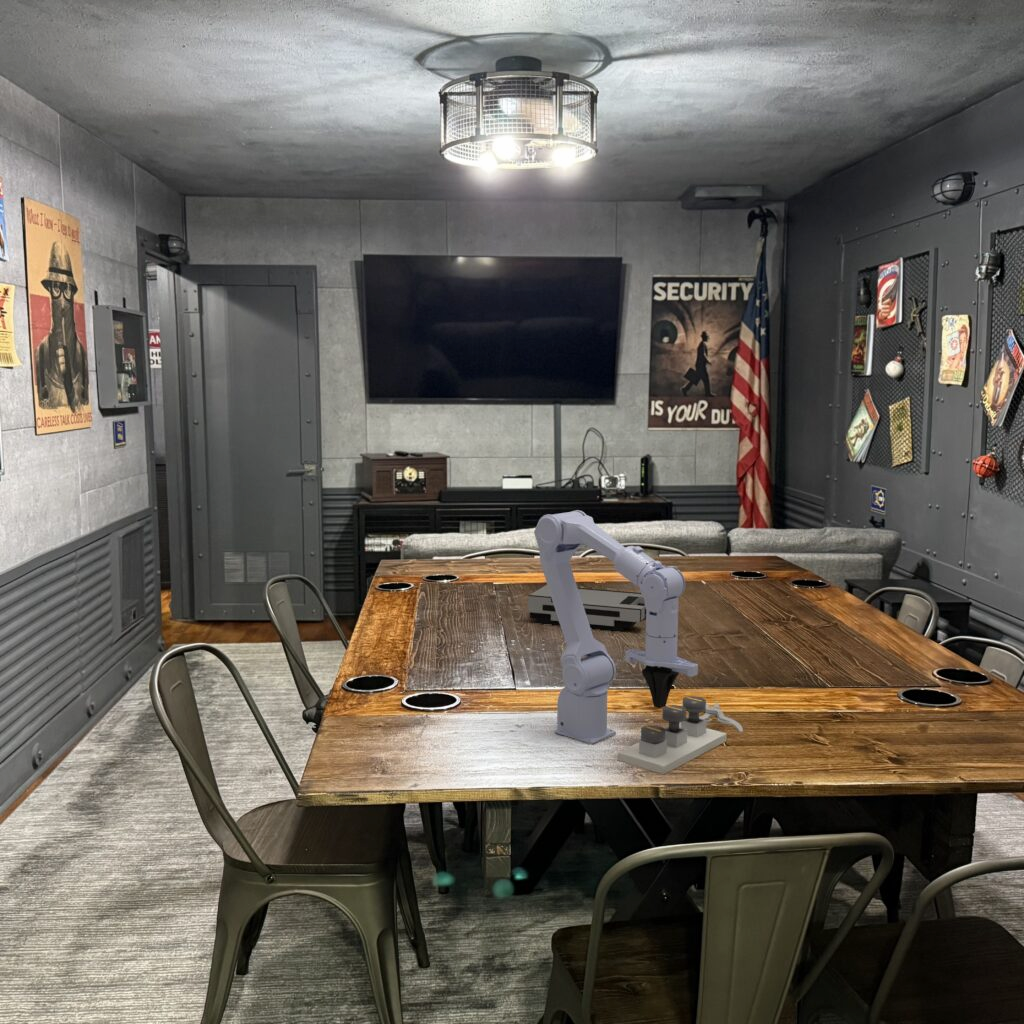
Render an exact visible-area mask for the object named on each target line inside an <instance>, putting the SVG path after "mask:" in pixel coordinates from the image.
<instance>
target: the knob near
mask: <svg viewBox="0 0 1024 1024" xmlns="http://www.w3.org/2000/svg"><path fill="white" fill-rule="evenodd" d="M665 728H666V727H663V726H661V725H660V726H659V725H651V724H649V725H644V726H642V727H641V728H640V729H641V730H640V740H642V741H644V742H647V743H655V744H656V743H662V742H664V741H665V733H666V730H665Z"/></svg>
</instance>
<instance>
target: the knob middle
mask: <svg viewBox="0 0 1024 1024" xmlns="http://www.w3.org/2000/svg"><path fill="white" fill-rule="evenodd" d="M686 718H687V711H686V708H685V707H682V706H681V705H677V704H668V705H666V706H664V707H662V720H664V721H666V722H668V726H669V731H670V732H679V725H680V722H683V721H685V720H686Z"/></svg>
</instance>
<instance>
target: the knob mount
mask: <svg viewBox="0 0 1024 1024" xmlns="http://www.w3.org/2000/svg"><path fill="white" fill-rule="evenodd" d="M688 717H689V716H686V720H685V721H683V722H680V725H679V732H670V731H669V725H668V726H667V727H664V728H665V730H666V733H665V741H664V742H662V743H656V744H655V743H647V742H644V741H642V740H641V739H639V742H637V743H635V744H633V745H631V746H629V747H626V748H624V749H621V750H620V751H618V752H617V762H618V761H619V762H622V763H625V764H629V765H630V766H636V767H638V768H641V769H644V770H648V771H651V772H654V773H658V774H661V775H665V774H667V773H669V772H671V771H673V770H676V769H678V767H680V766H681V767H682V766H683V765H685V764H686V763H688V762H690V761H691V760H694V759H695V758H698V757H699V756H702V755H703V754H705V753H707V752H708V751H710V750H712V749H714V748H716V747H718V746H720V745H721V744H724V743H726V742H727V737H728V734H727V733H726V732H724V731H718V730H716V729H715V730H714V729H711V728H709V727H707V725H708V723H707V720H708V719H707V720H704V719H700V718H699V722H697V723H692V722H689V721H688Z"/></svg>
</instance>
